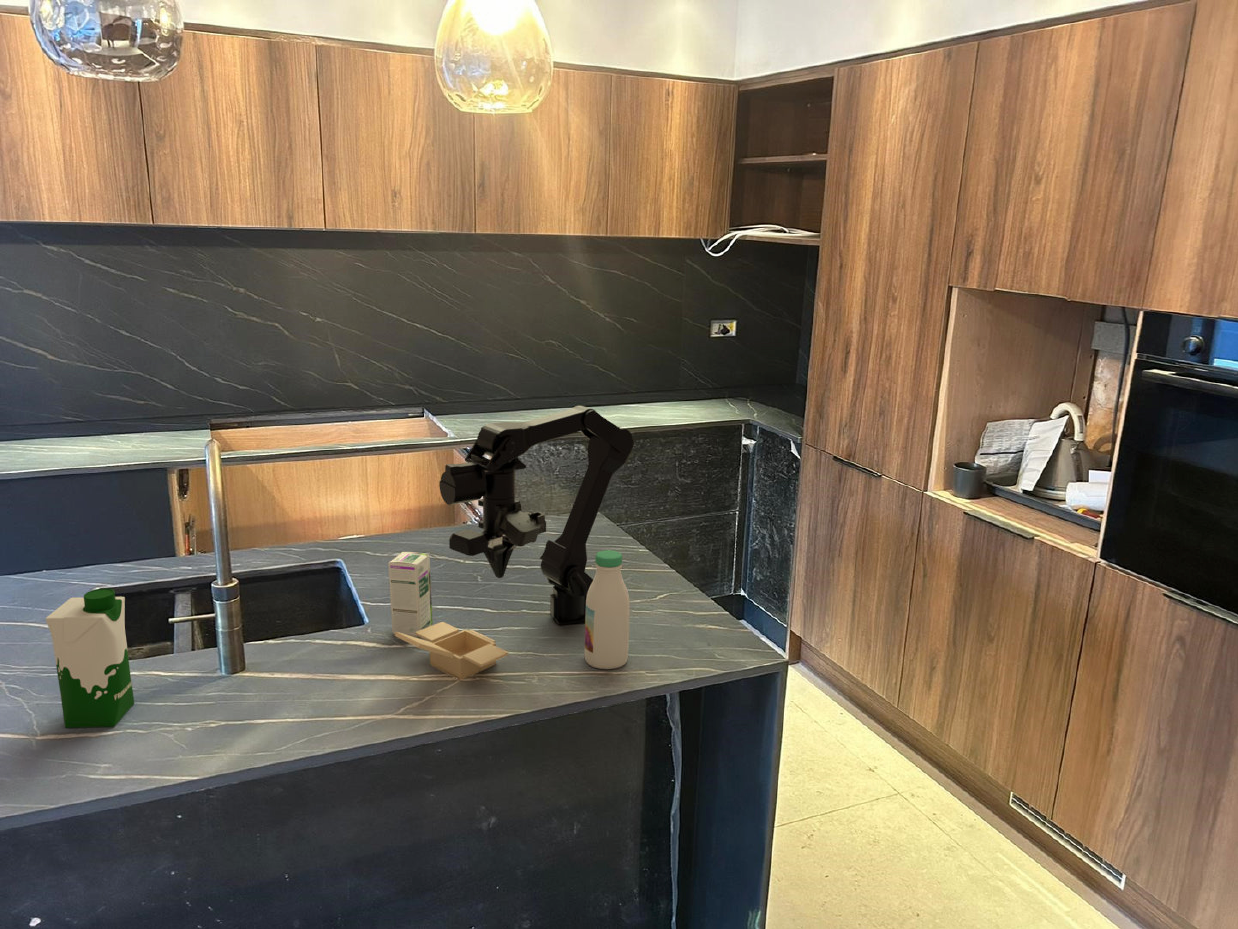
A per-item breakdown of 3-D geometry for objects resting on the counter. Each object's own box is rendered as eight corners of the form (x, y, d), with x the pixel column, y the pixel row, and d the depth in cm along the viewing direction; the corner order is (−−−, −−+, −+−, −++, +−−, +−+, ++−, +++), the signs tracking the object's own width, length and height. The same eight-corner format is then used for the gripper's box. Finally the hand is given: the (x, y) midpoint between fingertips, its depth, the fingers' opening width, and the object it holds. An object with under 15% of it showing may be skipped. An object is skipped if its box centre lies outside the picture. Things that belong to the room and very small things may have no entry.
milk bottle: (633, 654, 162) (637, 549, 157) (619, 673, 155) (622, 564, 150) (593, 647, 165) (595, 543, 160) (577, 666, 158) (579, 558, 153)
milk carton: (118, 730, 134) (101, 605, 129) (54, 731, 134) (35, 606, 128) (143, 700, 143) (128, 582, 138) (83, 701, 142) (66, 582, 137)
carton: (451, 640, 166) (451, 618, 165) (517, 671, 155) (517, 648, 154) (413, 656, 160) (412, 633, 158) (478, 690, 149) (478, 665, 148)
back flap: (429, 642, 154) (396, 631, 148) (454, 653, 150) (420, 643, 144) (428, 645, 154) (394, 635, 148) (452, 658, 150) (418, 647, 144)
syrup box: (420, 638, 167) (418, 564, 163) (390, 634, 168) (387, 561, 164) (433, 625, 172) (431, 553, 168) (404, 621, 173) (401, 550, 169)
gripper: (490, 517, 148) (490, 605, 153) (568, 493, 162) (567, 575, 166) (446, 502, 155) (448, 587, 159) (525, 481, 169) (524, 559, 173)
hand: (499, 577), depth 164 cm, fingers closed
